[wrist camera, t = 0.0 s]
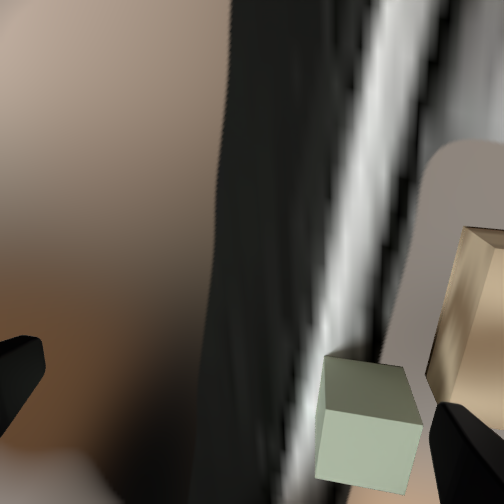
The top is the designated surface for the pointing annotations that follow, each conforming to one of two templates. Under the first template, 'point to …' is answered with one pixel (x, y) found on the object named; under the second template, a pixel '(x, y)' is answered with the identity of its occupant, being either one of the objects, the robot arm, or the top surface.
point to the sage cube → (365, 425)
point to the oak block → (472, 329)
